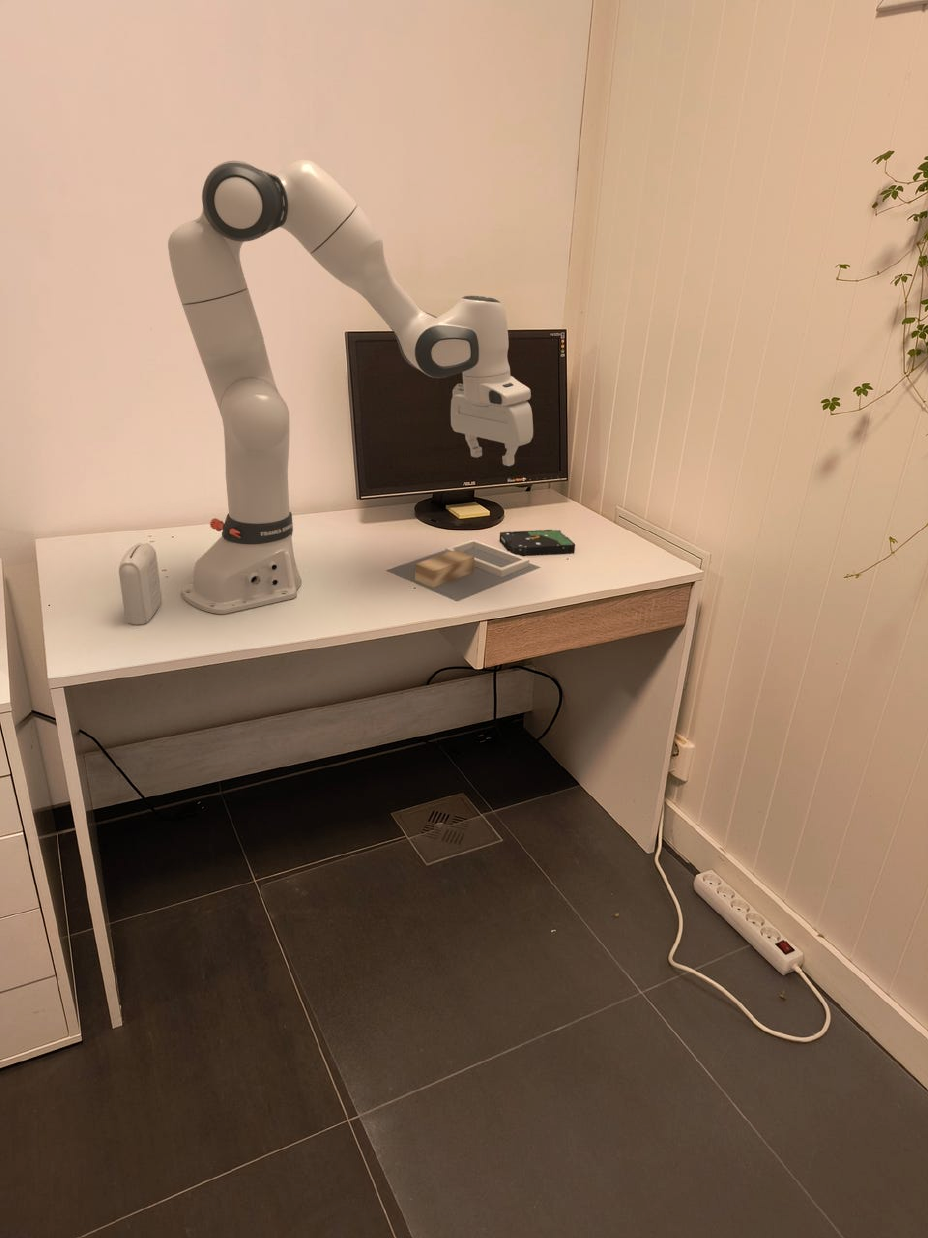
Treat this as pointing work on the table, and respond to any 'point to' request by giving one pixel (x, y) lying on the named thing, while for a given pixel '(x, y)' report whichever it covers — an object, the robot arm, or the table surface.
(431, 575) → the tan wooden block
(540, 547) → the disk drive
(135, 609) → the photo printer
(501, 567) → the mat
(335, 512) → the table surface
